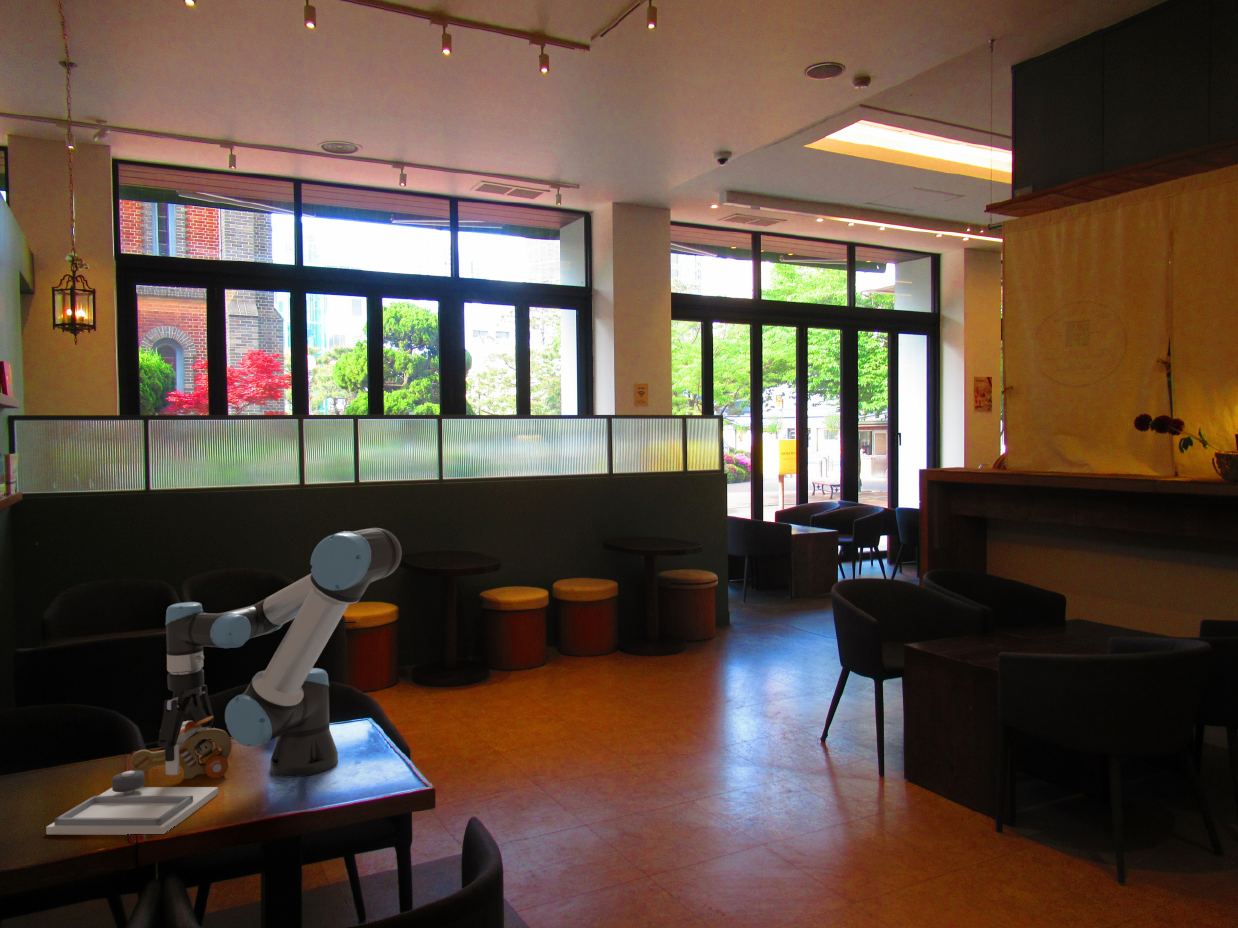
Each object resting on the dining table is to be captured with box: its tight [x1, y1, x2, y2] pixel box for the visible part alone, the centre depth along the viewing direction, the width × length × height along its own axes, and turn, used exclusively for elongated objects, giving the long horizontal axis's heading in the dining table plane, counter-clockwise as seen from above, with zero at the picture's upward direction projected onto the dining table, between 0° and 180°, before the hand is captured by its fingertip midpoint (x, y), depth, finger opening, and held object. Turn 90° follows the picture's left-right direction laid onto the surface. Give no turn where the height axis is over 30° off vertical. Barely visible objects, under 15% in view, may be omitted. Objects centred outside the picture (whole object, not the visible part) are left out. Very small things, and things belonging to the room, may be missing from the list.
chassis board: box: [45, 786, 219, 836], centre depth 175 cm, size 24×20×3 cm
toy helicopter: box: [129, 716, 232, 780], centre depth 194 cm, size 8×21×14 cm, turn 120°
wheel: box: [111, 770, 145, 792], centre depth 182 cm, size 6×6×3 cm
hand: (188, 764), depth 195 cm, fingers open, 11 cm apart
